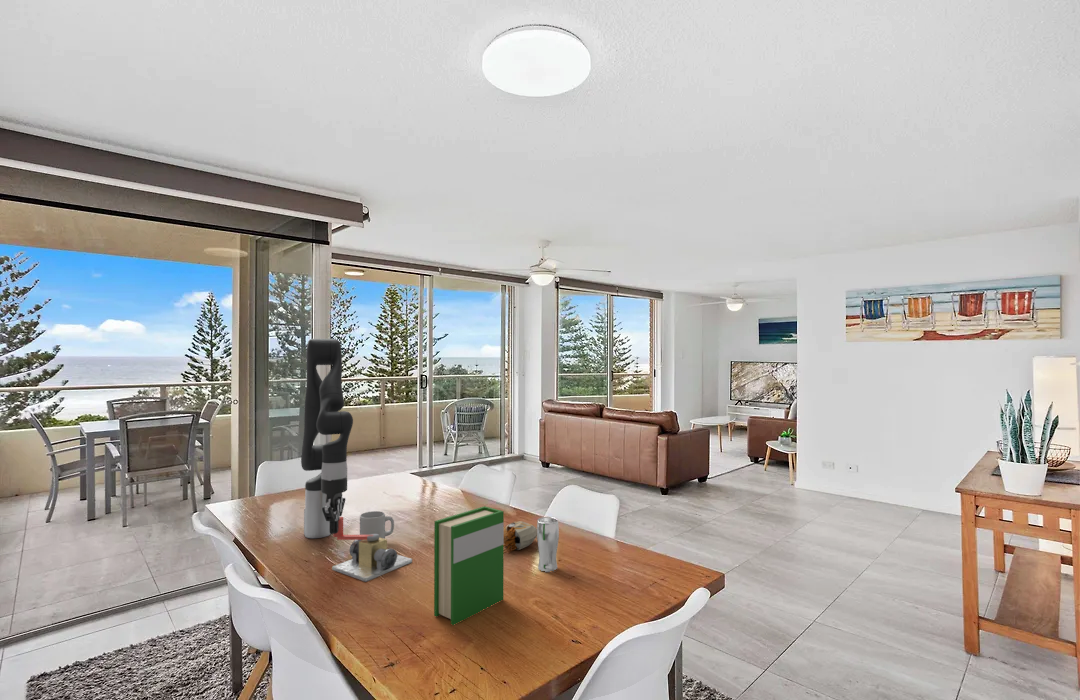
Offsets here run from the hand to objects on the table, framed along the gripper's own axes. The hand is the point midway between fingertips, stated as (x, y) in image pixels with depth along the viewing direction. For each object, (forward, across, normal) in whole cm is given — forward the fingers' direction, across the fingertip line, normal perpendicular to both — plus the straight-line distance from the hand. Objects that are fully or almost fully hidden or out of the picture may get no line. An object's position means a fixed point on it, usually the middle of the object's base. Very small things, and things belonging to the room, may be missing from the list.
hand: (333, 533), depth 161 cm
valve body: (+12, -4, +11) cm, 16 cm away
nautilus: (+12, -21, +54) cm, 59 cm away
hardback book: (+13, +24, +45) cm, 52 cm away
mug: (+11, -23, +6) cm, 26 cm away
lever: (+3, -4, +5) cm, 8 cm away
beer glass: (+12, -2, +66) cm, 67 cm away
